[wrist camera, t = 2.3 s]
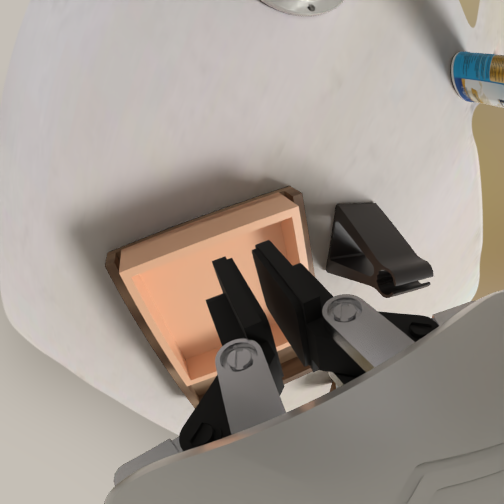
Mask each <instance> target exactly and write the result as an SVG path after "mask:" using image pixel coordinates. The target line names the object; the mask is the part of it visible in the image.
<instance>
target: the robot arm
mask: <svg viewBox="0 0 504 504" xmlns="http://www.w3.org/2000/svg"><path fill="white" fill-rule="evenodd" d="M261 1H262V2H264V3H265V4H267V5H268V6H270V7H272V8H274V9H276V10H278V11H281V12H284V13H288V14H291V15H297V16H315V15H321V14H324V13H327V12H329V11H331V10H333V9H335V8H337V7H338V6H339V5H340V4H341V3H342V2H343V1H344V0H261ZM308 9H309V10H308ZM255 248H256V249H253V250H252V255H253V259H254V263H255V266H256V270H257V274H258V278H259V281H260V285H261V289H262V293H263V296H264V300H265V303H266V306H267V308H268V310H269V312H270V314H271V315H272V317H273V318H274V320H275V322H276V323H277V325H278V326H279V328H280V329H281V331H282V333H283V334H284V336H285V337H286V339H287V341H288V342H289V344H290V345H291V347H292V348H293V350H294V352H295V353H296V355H297V356H298V358H299V360H300V361H301V363H302V364H303V366H304V367H306V366H308V365H309V366H310V368H311V369H312V371H313V372H315V371H317V370H322V371H328V374H329V376H330V378H331V379H332V380H333V381H334V382H335V383H336V384H337V386H338V387H339V388H337V389H335V390H333V391H331V392H329V393H327V394H325V395H323V396H321V397H319V398H317V399H315V400H313V401H311V402H309V403H307V404H304V405H302V406H300V407H298V408H296V409H294V410H291V411H289V412H287V413H286V411H285V409H284V406H283V403H282V401H281V398H280V394H281V392H282V390H283V388H284V384H283V380H282V377H284V375H283V371H282V367H281V364H280V360H279V356H278V353H277V349H276V345H275V342H274V338H273V334H272V331H271V327H270V324H269V321H268V319H267V316H266V314H265V312H264V311H263V309H262V307H261V306H260V304H259V302H258V301H257V299H256V297H255V296H254V294H253V292H252V291H251V289H250V287H249V286H248V284H247V282H246V281H245V279H244V277H243V276H242V274H241V272H240V271H239V269H238V267H237V265H236V264H235V262H234V260H233V259H232V258H230V259H227V258H226V257H225V256H224V257H222V258H219V259H216V260H214V261H212V264H213V267H214V269H215V272H216V275H217V278H218V281H219V283H220V286H221V289H222V292H223V293H222V294H220V295H217V296H215V297H212V298H210V299H207V300H206V303H207V306H208V309H209V312H210V314H211V317H212V320H213V323H214V325H215V328H216V331H217V333H218V336H219V339H220V341H221V344H222V347H221V348H220V350H219V351H218V352H217V355H216V357H215V365H216V370H217V376H216V378H215V379H214V381H213V382H212V384H211V385H210V387H209V388H208V390H207V391H206V393H205V395H204V396H203V398H202V399H201V401H200V402H199V404H198V405H197V407H196V408H195V410H194V411H193V413H192V414H191V416H190V417H189V419H188V420H187V422H186V423H185V425H184V426H183V428H182V430H181V432H180V436H179V437H177V438H176V439H174V440H170V439H168V440H166V441H164V442H163V443H161V444H159V445H158V446H156V447H154V448H152V449H151V450H149V451H147V452H145V453H144V454H142V455H140V456H138V457H137V458H135V459H133V460H131V461H129V462H127V463H125V464H123V465H122V466H121V467H119V468H118V470H117V471H116V473H115V476H114V484H115V487H114V488H113V489H112V490H111V491H110V493H109V494H108V496H107V497H106V500H105V503H104V504H504V290H501V291H498V292H494V293H491V294H489V295H487V296H485V297H483V298H481V299H479V300H477V301H471V302H468V303H465V304H462V305H460V306H457V307H454V308H451V309H448V310H445V311H442V312H439V313H436V314H433V316H432V318H429V317H426V316H421V315H409V314H398V313H387V312H377V311H376V310H375V309H374V308H372V307H371V306H370V305H369V304H367V303H366V302H365V301H364V300H362V299H361V298H359V297H357V296H354V295H350V294H343V295H337V296H335V297H333V296H332V295H331V294H330V293H329V292H328V291H327V290H326V288H325V287H324V286H323V285H322V284H321V283H320V282H319V281H318V280H317V279H316V278H315V277H314V276H313V275H312V274H311V273H310V272H309V271H308V269H307V268H306V267H305V266H304V265H303V264H301V263H298V264H295V265H292V264H291V263H290V262H289V261H288V260H287V259H286V258H285V257H284V255H283V254H282V253H281V252H280V251H279V250H278V249H277V248H276V247H275V246H274V244H273V243H272V242H271V241H270V240H267V241H264V242H261V243H259V244H256V245H255Z"/></svg>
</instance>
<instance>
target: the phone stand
mask: <svg viewBox="0 0 504 504" xmlns="http://www.w3.org/2000/svg"><path fill="white" fill-rule="evenodd" d="M331 238H332V240H331V242H330V248H329V254H328V260H327V266H326V271H327V272H328V273H331V274H334V275H338V276H341V277H344V278H347V279H350V280H354V281H357V282H360V283H363V284H366V285H370V286H372V287H374V288H375V289H376V290H377V291H378V292H379V293H380V294H381V295H382V296H383V297H386V298H389V297H393V296H396V295H400V294H404V293H407V292H411V291H414V290H417V289H421V288H424V287H427V286H429V285H430V282H427V283H423V284H421V283H419V282H418V280H422V279H425V278H429V277H433V270H432V267H431V265H430V264H429V263H428V262H427V261H425V260H423V259H421V258H420V257H418V256H417V255H416V253H415V252H414V251H413V249H412V248H411V247H410V245H409V244H408V243H407V241H406V240H405V239H404V238H403V236H402V235H401V234H400V232H399V231H398V230H397V229H396V227H395V226H394V225H393V224H392V222H391V221H390V220H389V219H388V217H387V216H386V215H385V214H384V212H383V211H382V210H381V209H380V208H379V206H378V205H377V204H376V203H365V204H337V205H336V208H335V215H334V222H333V229H332V235H331Z"/></svg>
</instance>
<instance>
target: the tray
mask: <svg viewBox="0 0 504 504" xmlns="http://www.w3.org/2000/svg"><path fill="white" fill-rule="evenodd" d="M278 192H279V193H280V194H282V195H283V196H285V197H286V198H288V199H289V200H291V201H292V202H293V203H295V204H296V205H298V206H299V211H300V217H301V223H302V229H303V235H304V241H305V248H306V254H307V261H308V268H309V272H310V273H311V274H312V275H313V276H314V277H315V275H314V267H313V260H312V253H311V246H310V239H309V233H308V226H307V220H306V214H305V208H304V202H303V196H302V193H301V192H299V191H297V190H296V189H294V188H292V187H291V186H288V187H285V188H282V189H279V190H276V191H273V192H270V193H267V194H264V195H261V196H258V197H255V198H252V199H249V200H246V201H244V202H241V203H238V204H235V205H232V206H229V207H226V208H224V209H221V210H218V211H215V212H212V213H210V214H207V215H204V216H201V217H199V218H196V219H193V220H190V221H188V222H185V223H182V224H180V225H177V226H174V227H172V228H169V229H166V230H164V231H161V232H159V233H156V234H153V235H151V236H148V237H146V238H143V239H141V240H138V241H136V242H133V243H131V244H128V245H126V246H123V247H121V248H118V249H116V250H113V251H111V252H108V253H107V258H106V263H105V267H106V269H107V271H108V273H109V275H110V277H111V279H112V280H113V282H114V284H115V286H116V288H117V290H118V291H119V293H120V295H121V297H122V299H123V300H124V302H125V304H126V305H127V307H128V309H129V311H130V312H131V314H132V316H133V317H134V319H135V321H136V322H137V324H138V326H139V327H140V329H141V331H142V332H143V334H144V335H145V337H146V339H147V340H148V342H149V343H150V345H151V346H152V348H153V350H154V351H155V353H156V354H157V356H158V357H159V359H160V360H161V362H162V363H163V365H164V366H165V368H166V369H167V371H168V372H169V373H170V375H171V376H172V378H173V379H174V381H175V382H176V383H177V385H178V386H179V388H180V389H181V390H182V392H183V393H184V394H185V396H186V397H187V399H188V400H189V401H190V403H191V404H192V405H193V407H194V408H196V407H197V405H198V404H199V402H200V401H201V399H202V398H203V396H204V395H205V393H206V391H207V390H208V388H209V387H210V385H211V384H212V382H213V381H214V379H215V378H216V376H215V377H212V378H210V379H207V380H204V381H201V382H198V383H196V384H193V385H190V386H186V384H185V383H184V381H183V380H182V378H181V377H180V376H179V374H178V373H177V371H176V369H175V368H174V366H173V365H172V363H171V362H170V360H169V359H168V357H167V356H166V354H165V352H164V351H163V349H162V348H161V346H160V344H159V343H158V341H157V340H156V338H155V336H154V335H153V333H152V331H151V330H150V328H149V326H148V325H147V323H146V321H145V319H144V318H143V316H142V314H141V313H140V311H139V309H138V307H137V306H136V304H135V302H134V300H133V298H132V297H131V295H130V293H129V291H128V289H127V287H126V285H125V284H124V282H123V280H122V278H121V276H120V274H119V267H120V258H121V250H122V249H125V248H127V247H130V246H132V245H135V244H137V243H140V242H142V241H145V240H148V239H150V238H153V237H155V236H158V235H160V234H163V233H166V232H168V231H171V230H174V229H176V228H179V227H182V226H184V225H187V224H190V223H192V222H195V221H198V220H200V219H203V218H206V217H209V216H211V215H214V214H217V213H220V212H223V211H225V210H228V209H231V208H234V207H237V206H240V205H242V204H245V203H248V202H251V201H254V200H257V199H260V198H263V197H266V196H269V195H272V194H275V193H278ZM277 353H278V356H279V360H280V364H281V367H282V371H283V375H284V377H282V380H283V384H286V383H288V382H290V381H292V380H295V379H297V378H299V377H301V376H303V375H306V374H308V373H310V372H312V369H311V368H310V366H309V365H308V366H306V367H304V366H303V364H302V363H301V361H300V360H299V358H298V356H297V355H296V353H295V352H294V350H293V348H292V347H291V346H289V347H286V348H284V349H282V350H279V351H277Z"/></svg>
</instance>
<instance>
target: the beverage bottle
mask: <svg viewBox="0 0 504 504" xmlns="http://www.w3.org/2000/svg"><path fill="white" fill-rule="evenodd" d="M451 77H452V82H453V85H454V88H455V90H456V92H457V93H458V95H459V96H460V97H461V98H462V99H463V100H465V101H469V102H478V103H484V104H488V105H493V106H497V107H502V108H504V55H494V54H482V53H470V52H458V53H457V54H456V55H455V56H454V58H453V60H452V64H451Z"/></svg>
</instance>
